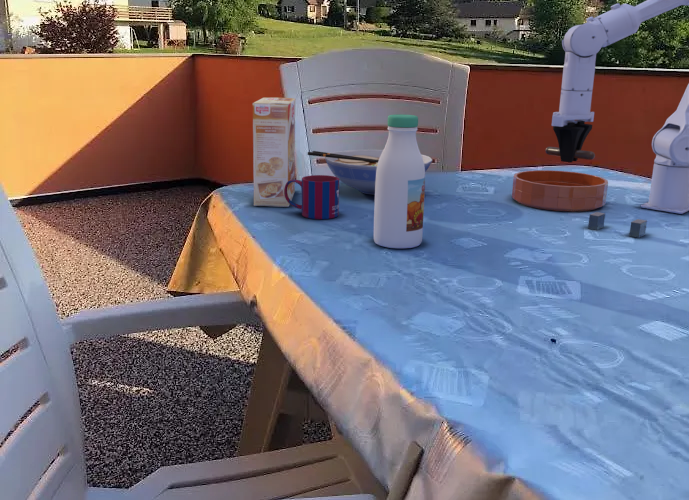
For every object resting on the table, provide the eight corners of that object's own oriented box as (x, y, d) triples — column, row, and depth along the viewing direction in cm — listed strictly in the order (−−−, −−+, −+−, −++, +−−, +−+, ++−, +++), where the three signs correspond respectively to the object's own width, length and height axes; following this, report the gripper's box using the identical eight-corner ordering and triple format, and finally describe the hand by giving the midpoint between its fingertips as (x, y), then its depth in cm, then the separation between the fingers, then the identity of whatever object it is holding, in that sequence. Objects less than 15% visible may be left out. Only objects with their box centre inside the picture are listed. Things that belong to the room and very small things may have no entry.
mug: (332, 220, 125) (333, 182, 124) (279, 216, 128) (279, 179, 126) (342, 212, 132) (343, 176, 130) (291, 208, 134) (291, 172, 132)
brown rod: (543, 154, 141) (544, 146, 141) (547, 153, 142) (548, 145, 142) (592, 160, 135) (593, 152, 134) (595, 159, 136) (596, 151, 136)
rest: (587, 228, 124) (589, 214, 123) (594, 225, 126) (596, 211, 125) (638, 238, 118) (640, 223, 117) (645, 234, 120) (647, 220, 120)
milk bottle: (389, 252, 107) (394, 118, 102) (364, 239, 114) (368, 113, 108) (431, 246, 111) (439, 117, 105) (405, 234, 117) (410, 112, 112)
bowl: (537, 189, 157) (539, 167, 155) (619, 202, 145) (622, 178, 144) (494, 201, 144) (496, 177, 142) (581, 217, 132) (584, 190, 130)
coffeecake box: (289, 207, 135) (289, 103, 129) (252, 206, 135) (250, 102, 130) (296, 191, 149) (296, 97, 144) (262, 190, 149) (261, 96, 144)
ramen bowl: (453, 190, 154) (455, 152, 152) (403, 209, 135) (405, 167, 133) (355, 177, 167) (356, 142, 164) (297, 193, 148) (297, 154, 146)
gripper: (573, 87, 143) (565, 155, 147) (539, 90, 132) (532, 162, 136) (607, 89, 138) (599, 159, 142) (575, 92, 128) (567, 167, 132)
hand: (568, 161), depth 139 cm, fingers closed on brown rod, 1 cm apart
